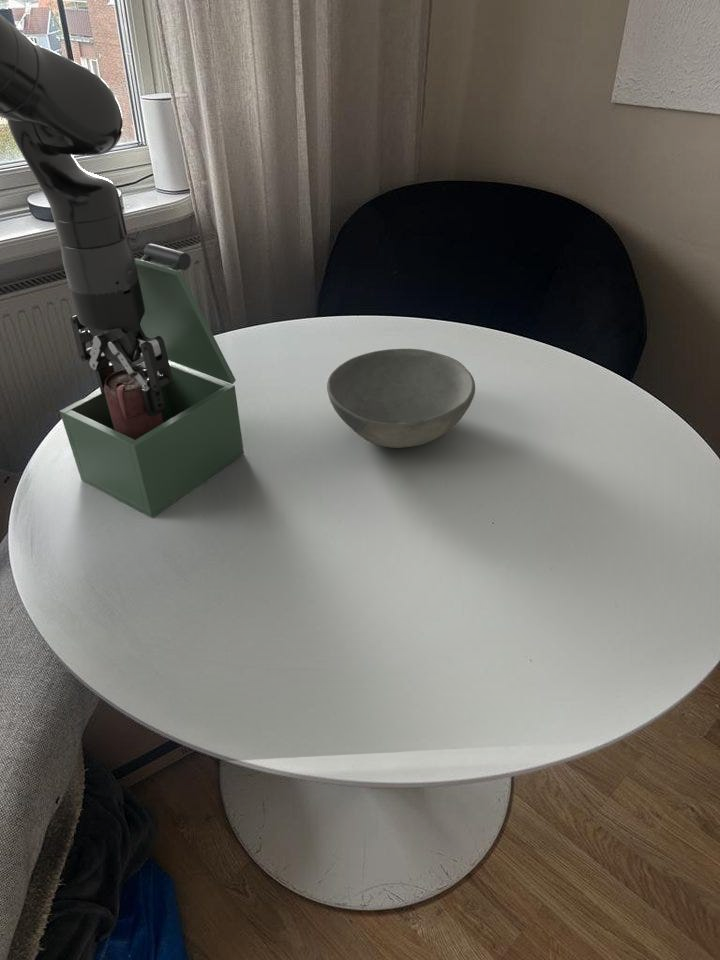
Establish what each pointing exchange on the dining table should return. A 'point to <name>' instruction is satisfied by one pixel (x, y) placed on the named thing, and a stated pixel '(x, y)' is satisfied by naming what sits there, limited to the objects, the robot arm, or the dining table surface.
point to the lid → (177, 313)
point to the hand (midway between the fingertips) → (133, 403)
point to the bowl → (401, 395)
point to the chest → (158, 442)
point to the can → (128, 405)
